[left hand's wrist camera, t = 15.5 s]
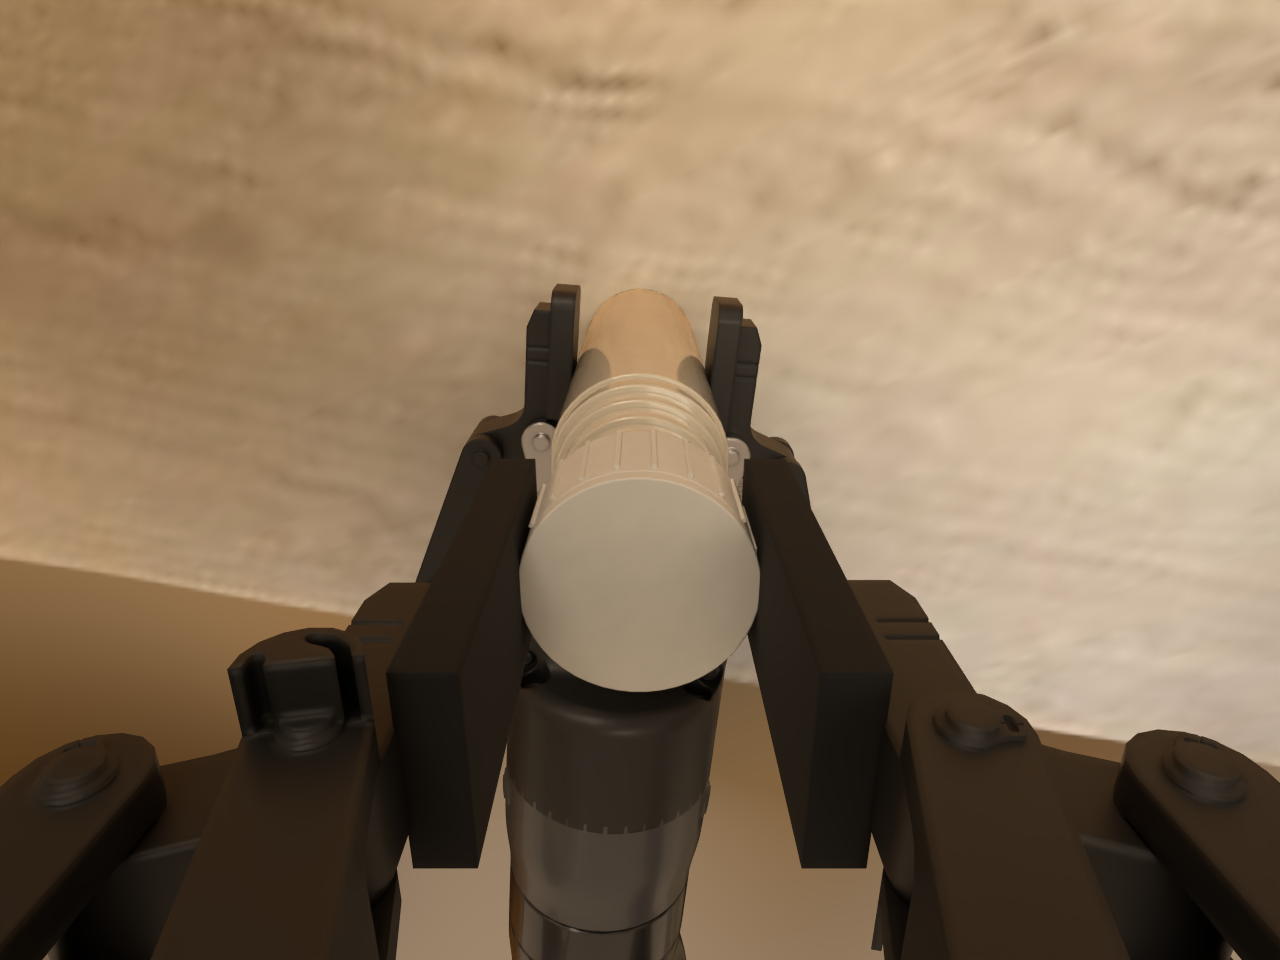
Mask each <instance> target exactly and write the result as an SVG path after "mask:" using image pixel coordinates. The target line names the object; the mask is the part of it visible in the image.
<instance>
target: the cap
mask: <svg viewBox="0 0 1280 960" xmlns="http://www.w3.org/2000/svg"><path fill="white" fill-rule="evenodd" d="M528 527H530V531H529V534H528V537H527V540H526V544H525V547H524V550H523V553H522V557H521V561H520V566H519V576H520V593H521V607H522V614H523V617H524V619H525V622H526V625H527V626H528V628H529V630H530V632H531V634H532V636H533V637H534V639H535V640H536V641H537V643H538V644H539V646H540V647H541V648H542V649H543V650H544V651H545V653H546V654H547V655H548V656H549V657H550V658H551V659H552V660H554V661H555V662H556V663H557V664H558V665H560V666H561V667H562V668H564V669H565V670H567V671H568V672H570V673H572V674H573V675H575V676H577V677H579V678H581V679H583V680H585V681H587V682H590V683H593V684H595V685H598V686H601V687H605V688H610V689H614V690H620V691H630V692H649V691H659V690H665V689H669V688H674V687H678V686H680V685H683V684H686V683H689V682H692V681H694V680H696V679H698V678H700V677H702V676H704V675H706V674H707V673H709V672H711V671H712V670H714V669H715V668H717V667H718V666H719V665H720V664H722V663H723V662H724V661H725V660H727V659H728V658H729V657H730V656H731V654H732V653H733V652H734V651H735V650H736V649H737V648H738V647H739V645H740V644H741V643H742V641H743V640H744V638H745V637H746V635H747V634H748V632H749V630H750V628H751V626H752V624H753V622H754V619H755V616H756V614H757V611H758V600H759V585H760V566H759V562H758V558H757V554H756V553H757V547H756V544H755V540H754V537H753V534H752V531H751V527H750V524H749V521H748V518H747V514H746V511H745V508H744V506H743V505H742V502H741V499H740V496H739V492H738V489H737V486H736V483H735V480H734V479H733V478H732V479H730V478H729V476H728V475H727V474H726V472H725V471H724V470H723V468H722V467H721V466H720V465H719V464H718V463H717V462H716V459H715V457H714V456H713V455H711V456H710V455H708V454H707V453H706V452H704V451H703V450H701V449H700V448H698V447H697V446H695V445H693V444H691V443H689V442H688V439H685V438H683V439H680V438H677V437H675V436H671V435H667V434H663V433H658V432H656V431H655V430H651V432H650V431H629V432H622V431H617V433H616V434H612V435H608V436H604V437H601V438H599V439H596V440H594V441H591V442H590V440H589V441H587V442H586V443H585V445H584V446H582V447H581V448H579V449H577V450H576V451H575V452H573V453H572V454H571V455H569V456H568V457H567V458H566V459H565V460H564V459H561V460H560V461H559V465H558V467H557V468H556V470H555V471H554V472H553V473H552V475H551V476H550V478H549V479H548V481H547V483H546V484H544V483H543V484H542V486H541V488H540V491H539V495H538V498H537V501H536V504H535V507H534V510H533V514H532V517H531V520H530V523H529V526H528Z"/></svg>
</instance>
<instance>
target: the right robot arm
mask: <svg viewBox="0 0 1280 960" xmlns="http://www.w3.org/2000/svg"><path fill="white" fill-rule="evenodd" d="M580 294H581V288H580V286H579V285H567V284H557V285H556V286H555V288H554V289H553V291H552V297H551V303H544V302H540V303H539V304H538V306H537V307H536V308H535V310H534V312H533V314H532V316H531V319H530V321H529V323H528V325H527V338H526V373H525V405H524V408H523V409H522V410H520V411H518V412H516V413H513V414H510V415H506V416H502V417H499V416H488V417H485V418H484V419H482V420H481V421H480V423H479V424H478V426H477V427H476V429H475V430H474V432H473V434H472V435H471V437H470V438H469V440H468V441H467V443H466V445H465V446H464V448H463V450H462V452H461V455H460V458H459V461H458V464H457V467H456V469H455V472H454V475H453V478H452V481H451V483H450V486H449V489H448V492H447V495H446V497H445V500H444V503H443V506H442V509H441V512H440V514H439V517H438V520H437V523H436V526H435V528H434V531H433V534H432V537H431V540H430V543H429V545H428V548H427V551H426V554H425V557H424V559H423V562H422V565H421V568H420V571H419V574H418V576H417V579H416V583H431V582H432V580H433V578H434V576H435V574H436V572H437V570H438V568H439V566H440V564H441V562H442V560H443V558H444V556H445V554H446V552H447V550H448V548H449V546H450V544H451V542H452V540H453V538H454V536H455V534H456V533H457V531H458V529H459V527H460V525H461V523H462V521H463V519H464V517H465V515H466V513H467V511H468V509H469V507H470V505H471V503H472V501H473V499H474V497H475V495H476V493H477V491H478V489H479V487H480V485H481V483H482V481H483V479H484V477H485V475H486V473H487V471H488V469H489V467H490V465H491V463H492V461H493V459H535V461H536V481H537V498H538V495H539V491H540V488H541V486H542V484H543V483H544V484H546V483H547V481H548V479H549V478H550V476H551V446H552V440H553V436H554V432H555V429H556V426H557V423H558V420H559V417H560V414H561V411H562V408H563V405H564V402H565V399H566V395H567V392H568V389H569V386H570V383H571V380H572V377H573V374H574V371H575V368H576V365H577V352H578V333H579V314H580ZM760 352H761V342H760V338H759V334H758V330H757V327H756V326H755V325H754V323H753V322H752V321H751V319H743V306H742V304H741V303H740V301H739V300H738V299H737V298H727V297H716V296H714V298H713V303H712V310H711V318H710V327H709V336H708V344H707V353H706V361H705V373H706V376H707V379H708V382H709V385H710V388H711V391H712V394H713V398H714V401H715V404H716V407H717V410H718V413H719V416H720V419H721V422H722V425H723V428H724V431H725V435H726V439H727V444H728V454H729V456H728V465H729V466H728V476H729V478H730V479H732V478H733V479H734V480H735V483H736V486H737V488H738V486H739V484H740V482H741V480H742V478H743V471H744V459H786V460H787V462H788V464H789V466H790V468H791V470H792V472H793V474H794V476H795V478H796V480H797V482H798V484H799V486H800V488H801V490H802V492H803V494H804V496H805V498H806V500H807V502H808V504H809V506H810V500H809V494H808V488H807V482H806V476H805V473H804V471H803V469H802V467H801V465H800V464H799V463H798V462H797V461H796V459H795V458H794V454H793V451H792V449H791V447H790V445H789V444H788V442H787V441H785V440H784V439H782V438H779V437H770V438H769V437H767V436H765V435H763V434H760V433H758V432H756V431H755V430H753V429H752V428H751V427H750V424H751V416H752V409H753V402H754V394H755V387H756V378H757V373H758V364H759V359H760ZM810 508H811V506H810ZM726 662H727V660H725V661H724V662H723V663H722V664H720V665H719V666H718V667H717V668H715V669H714V670H712V671H711V672H709V673H707V674H706V675H704V676H702V677H700V678H698V679H696V680H694V681H692V682H689V683H686V684H683V685H680V686H678V687H674V688H669V689H665V690H659V691H649V692H630V691H620V690H614V689H610V688H605V687H601V686H598V685H595V684H593V683H590V682H587V681H585V680H583V679H581V678H579V677H577V676H575V675H573V674H572V673H570V672H568V671H567V670H565V669H564V668H562V667H561V666H560V665H558V664H557V663H556V662H555V661H554V660H552V659H551V658H550V657H549V656H548V655H547V654H546V653H545V651H544V650H543V649H542V648H541V647H540V646H539V644H538V643H537V641H536V640H535V639H534V637H533V636H531V641H530V645H529V649H528V654H527V658H526V662H525V667H524V671H523V675H522V680H521V684H520V688H519V692H518V697H517V701H516V705H515V710H514V714H513V718H512V723H511V727H510V731H509V736H508V740H507V767H506V768H505V773H504V775H503V792H504V798H505V799H506V824H507V832H508V839H509V844H510V851H511V867H510V900H509V903H510V904H509V937H510V946H511V953H512V960H686V956H685V950H684V946H683V942H682V938H681V935H680V928H681V922H682V916H683V909H684V902H685V895H686V888H687V881H688V874H689V868H690V864H691V861H692V858H693V855H694V853H695V850H696V847H697V844H698V840H699V837H700V832H701V827H702V822H703V816H704V814H705V813H706V810H707V806H708V801H709V795H710V788H711V786H710V782H709V775H710V768H711V761H712V755H713V747H714V740H715V733H716V726H717V719H718V713H719V706H720V699H721V692H722V686H723V679H724V672H725V666H726Z"/></svg>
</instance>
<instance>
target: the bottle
mask: <svg viewBox="0 0 1280 960" xmlns="http://www.w3.org/2000/svg"><path fill="white" fill-rule="evenodd" d="M651 430H655V431H656V432H658V433H663V434H667V435H671V436H675V437H677V438H680V439H683V438H685V439H688V442H689V443H691V444H693V445H695V446H697V447H698V448H700V449H701V450H703V451H704V452H706V453H707V454H708V455H710V456H711V455H713V456H714V457H715V459H716V462H717V463H718V464H719V465H720V466H721V467H722V468H723V470H724V471H725V472H726V474H727V475H728V466H729V465H728V456H729V454H728V444H727V439H726V435H725V431H724V428H723V425H722V422H721V419H720V416H719V413H718V410H717V407H716V404H715V401H714V398H713V394H712V391H711V388H710V385H709V382H708V379H707V376H706V373H705V370H704V367H703V364H702V360H701V357H700V354H699V351H698V348H697V345H696V342H695V339H694V336H693V333H692V330H691V327H690V324H689V321H688V319H687V317H686V315H685V313H684V312H683V311H682V309H681V308H680V307H679V306H678V305H677V304H676V303H675V302H674V301H673V300H671V299H670V298H668V297H667V296H665V295H663V294H661V293H658V292H655V291H652V290H646V289H634V290H628V291H624V292H621V293H619V294H616V295H615V296H613V297H611V298H610V299H608V300H607V301H606V302H604V303H603V304H602V305H601V307H600V308H599V309H598V310H597V312H596V313H595V315H594V316H593V318H592V320H591V323H590V325H589V328H588V331H587V334H586V337H585V341H584V344H583V347H582V350H581V353H580V356H579V359H578V362H577V365H576V368H575V371H574V374H573V377H572V380H571V383H570V386H569V389H568V392H567V395H566V399H565V402H564V405H563V408H562V411H561V414H560V417H559V420H558V423H557V426H556V429H555V432H554V436H553V440H552V446H551V475H552V473H553V472H554V471H555V470H556V468H557V467H558V465H559V461H560V460H561V459H564V460H565V459H566V458H567V457H568V456H569V455H571V454H572V453H573V452H575V451H576V450H577V449H579V448H581V447H582V446H584V445H585V443H586V442H587V441H589V440H590V442H591V441H594V440H596V439H599V438H601V437H604V436H608V435H612V434H616V433H617V431H622V432H629V431H650V432H651Z"/></svg>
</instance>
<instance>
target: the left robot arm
mask: <svg viewBox="0 0 1280 960" xmlns="http://www.w3.org/2000/svg"><path fill="white" fill-rule="evenodd" d="M536 501H537V481H536V461H535V459H493V461H492V463H491V465H490V467H489V469H488V471H487V473H486V475H485V477H484V479H483V481H482V483H481V485H480V487H479V489H478V491H477V493H476V495H475V497H474V499H473V501H472V503H471V505H470V507H469V509H468V511H467V513H466V515H465V517H464V519H463V521H462V523H461V525H460V527H459V529H458V531H457V533H456V534H455V536H454V538H453V540H452V542H451V544H450V546H449V548H448V550H447V552H446V554H445V556H444V558H443V560H442V562H441V564H440V566H439V568H438V570H437V572H436V574H435V576H434V578H433V580H432V582H431V583H389V584H387V585H386V586H384V587H383V588H382V589H380V590H379V591H377V592H376V593H374V594H373V595H372V596H370V597H369V598H367V599H366V600H365V601H364V602H363V604H362V605H361V607H360V608H359V610H358V612H357V613H356V615H355V616H354V618H353V619H352V621H351V622H352V623H351V625H349V626H348V627H347V629H346V630H345V631H342V630H339V629H335V628H306V629H301V630H295V631H290V632H285V633H282V634H279V635H276V636H274V637H271V638H269V639H266V640H263V641H261V642H259V643H257V644H256V645H254V646H253V647H251V648H249V649H248V650H246V651H245V652H243V653H242V654H240V655H239V656H238V657H237V658H236V660H235V661H234V662H233V663H232V664H231V666H230V667H229V668H228V669H227V671H228V675H229V680H230V684H231V688H232V693H233V697H234V701H235V706H236V710H237V715H238V719H239V723H240V728H241V732H242V738H241V741H240V743H239V746H238V748H236V749H233V750H229V751H225V752H222V753H218V754H215V755H210V756H205V757H201V758H196V759H192V760H187V761H182V762H177V763H173V764H168V765H163V766H160V765H159V762H158V758H157V755H156V751H155V748H154V746H153V745H151V744H150V743H149V742H148V741H147V740H146V739H145V738H143V737H140V736H135V735H130V734H125V733H118V734H107V735H96V736H93V737H88V738H84V739H82V740H77V741H74V742H71V743H68V744H65V745H63V746H61V747H59V748H57V749H55V750H53V751H51V752H49V753H47V754H45V755H43V756H41V757H39V758H37V759H35V760H34V761H33V762H31V763H30V764H28V765H27V766H26V767H24V768H23V769H21V770H20V771H19V772H17V773H16V774H15V775H13V776H12V777H11V778H10V779H9V780H8V781H6V782H5V783H4V784H3V785H2V786H1V787H0V960H42V959H43V958H44V957H45V956H46V955H47V953H48V956H49V958H50V960H396V950H397V940H398V930H399V920H400V910H401V894H400V888H399V881H398V874H397V866H398V863H399V860H400V857H401V854H402V851H403V849H404V845H405V843H406V840H407V837H408V835H409V842H410V849H411V856H412V863H413V868H478V865H479V861H480V857H481V852H482V848H483V844H484V839H485V835H486V831H487V826H488V822H489V818H490V813H491V809H492V805H493V800H494V796H495V792H496V787H497V783H498V779H499V774H500V770H501V766H502V761H503V757H504V753H505V748H506V744H507V740H508V736H509V731H510V727H511V723H512V718H513V714H514V710H515V705H516V701H517V697H518V692H519V688H520V684H521V680H522V675H523V671H524V667H525V662H526V658H527V654H528V649H529V645H530V641H531V636H532V634H531V632H530V630H529V628H528V626H527V625H526V622H525V619H524V617H523V614H522V607H521V593H520V576H519V566H520V561H521V557H522V553H523V550H524V547H525V544H526V540H527V537H528V534H529V531H530V527H528V526H529V523H530V520H531V517H532V514H533V510H534V507H535V504H536ZM742 505H743V506H744V508H745V511H746V514H747V518H748V521H749V524H750V527H751V531H752V534H753V537H754V540H755V544H756V547H757V553H756V554H757V558H758V562H759V566H760V585H759V600H758V611H757V614H756V616H755V619H754V622H753V624H752V626H751V628H750V630H749V632H748V638H749V643H750V647H751V651H752V656H753V660H754V664H755V669H756V673H757V677H758V682H759V686H760V690H761V694H762V699H763V703H764V707H765V712H766V716H767V720H768V724H769V729H770V733H771V738H772V742H773V746H774V751H775V755H776V759H777V764H778V768H779V772H780V777H781V781H782V785H783V789H784V794H785V798H786V803H787V807H788V811H789V815H790V820H791V824H792V829H793V833H794V837H795V841H796V845H797V850H798V854H799V859H800V863H801V867H802V868H866V867H867V860H868V853H869V846H870V838H871V832H872V834H873V837H874V840H875V843H876V846H877V849H878V852H879V855H880V857H881V860H882V863H883V866H884V868H883V874H882V881H881V887H880V894H879V901H878V907H877V914H876V920H875V927H874V934H873V941H872V947H871V949H872V950H878V951H881V950H882V945H883V948H884V958H885V960H1233V959H1232V958H1231V954H1232V952H1233V950H1234V951H1235V952H1236V953H1237V955H1238V956H1239V957H1240V958H1241V959H1242V960H1280V783H1279V782H1278V781H1277V780H1276V779H1275V778H1274V777H1273V776H1272V775H1270V774H1269V773H1268V772H1267V771H1266V770H1264V769H1263V768H1261V767H1260V766H1259V765H1257V764H1256V763H1254V762H1253V761H1252V760H1250V759H1249V758H1248V757H1246V756H1245V755H1243V754H1241V753H1239V752H1237V751H1235V750H1233V749H1231V748H1229V747H1227V746H1224V745H1222V744H1220V743H1219V742H1217V741H1214V740H1211V739H1208V738H1205V737H1202V736H1201V737H1200V736H1198V735H1195V734H1190V733H1186V732H1179V731H1168V730H1153V731H1148V732H1143V733H1138V734H1136V735H1135V736H1134V737H1133V738H1132V739H1131V740H1129V741H1128V742H1127V743H1126V745H1125V749H1124V753H1123V756H1122V760H1121V763H1118V762H1114V761H1109V760H1104V759H1099V758H1095V757H1090V756H1085V755H1081V754H1076V753H1071V752H1066V751H1062V750H1059V749H1056V748H1052V747H1048V746H1045V745H1042V744H1041V742H1040V739H1039V737H1038V735H1037V733H1036V732H1035V731H1034V729H1033V728H1032V726H1031V725H1030V724H1029V722H1028V721H1027V719H1025V718H1024V717H1023V716H1021V715H1020V714H1019V713H1017V712H1016V711H1015V710H1013V709H1012V708H1011V707H1009V706H1008V705H1006V704H1004V703H1001V702H999V701H997V700H995V699H992V698H990V697H988V696H985V695H982V694H977V693H976V692H975V690H974V688H973V687H972V685H971V684H970V682H969V681H968V679H967V678H966V676H965V674H964V673H963V671H962V670H961V668H960V667H959V665H958V664H957V662H956V660H955V659H954V657H953V656H952V654H951V653H950V651H949V650H948V648H947V646H946V645H945V643H944V642H943V640H940V639H939V634H938V632H937V631H936V629H935V628H934V626H933V625H932V623H931V622H929V621H928V617H927V615H926V614H925V612H924V611H923V609H922V608H921V606H920V604H919V603H918V601H917V600H916V598H915V597H913V596H912V595H910V594H909V593H908V592H906V591H905V590H903V589H902V588H900V587H899V586H898V585H896V584H895V583H893V582H892V581H890V580H847V579H846V577H845V575H844V573H843V571H842V569H841V567H840V565H839V563H838V561H837V559H836V557H835V555H834V553H833V551H832V549H831V547H830V545H829V543H828V541H827V539H826V537H825V536H824V534H823V532H822V530H821V528H820V526H819V524H818V522H817V520H816V518H815V516H814V514H813V512H812V510H811V508H810V506H809V504H808V502H807V500H806V498H805V496H804V494H803V492H802V490H801V488H800V486H799V484H798V482H797V480H796V478H795V476H794V474H793V472H792V470H791V468H790V466H789V464H788V462H787V460H786V459H744V471H743V491H742Z"/></svg>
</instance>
